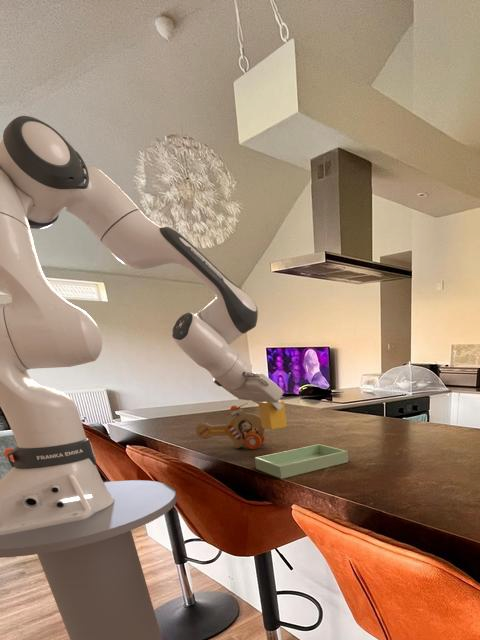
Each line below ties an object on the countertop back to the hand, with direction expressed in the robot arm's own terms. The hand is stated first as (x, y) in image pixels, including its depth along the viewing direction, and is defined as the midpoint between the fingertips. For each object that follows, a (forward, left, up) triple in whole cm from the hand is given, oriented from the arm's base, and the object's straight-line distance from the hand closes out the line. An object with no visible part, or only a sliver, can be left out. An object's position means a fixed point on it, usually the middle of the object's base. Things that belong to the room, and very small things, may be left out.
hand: (273, 407), depth 117 cm
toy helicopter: (-4, +19, -14) cm, 24 cm away
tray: (-2, -16, -13) cm, 21 cm away
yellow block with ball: (-1, 0, -5) cm, 5 cm away
